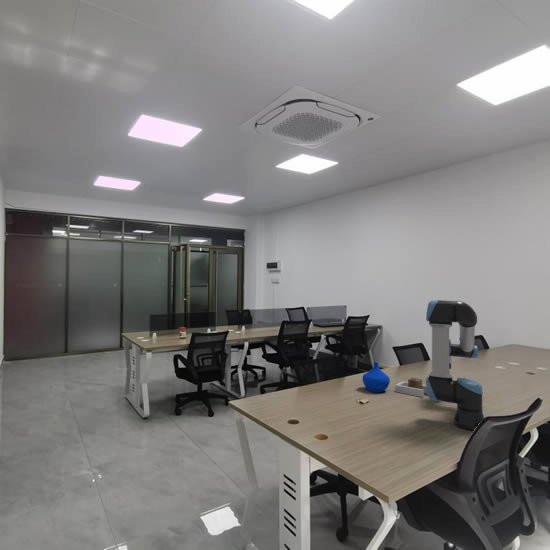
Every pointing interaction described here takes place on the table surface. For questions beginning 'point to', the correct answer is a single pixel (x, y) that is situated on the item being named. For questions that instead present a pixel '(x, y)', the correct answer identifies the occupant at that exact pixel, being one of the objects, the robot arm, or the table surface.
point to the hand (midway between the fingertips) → (444, 398)
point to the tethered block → (415, 383)
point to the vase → (376, 379)
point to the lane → (410, 389)
